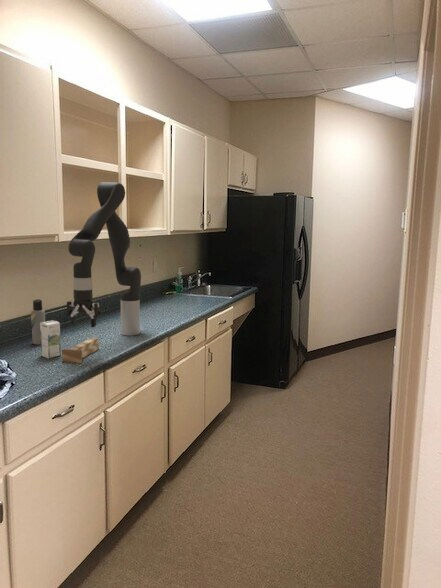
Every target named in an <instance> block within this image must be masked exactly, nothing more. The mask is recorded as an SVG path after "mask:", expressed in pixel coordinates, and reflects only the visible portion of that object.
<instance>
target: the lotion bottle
mask: <svg viewBox="0 0 441 588" xmlns="http://www.w3.org/2000/svg"><path fill="white" fill-rule="evenodd" d="M30 313H31V314H30V316H31V334H32V336H31V337H32V338H31V339H32V344H34V345H36V346H37V345H41V333H40V323H41V322H46V311H45V309H43V300H42V299H38V298H37V299H35V300H32V310H31V312H30Z"/></svg>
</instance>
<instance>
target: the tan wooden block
mask: <svg viewBox="0 0 441 588" xmlns="http://www.w3.org/2000/svg"><path fill="white" fill-rule="evenodd" d="M98 350H99V337H90V338H88V339H86V340H84V341H83V342H80V343H78V344H75V346H73V347H71V348H62V349H61V361H62V362H66V363H74V362H76V364H81V363H83V358H85V357H87V356H89V355H91V354H92V353H94V352H96V351H98Z"/></svg>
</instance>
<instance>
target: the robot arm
mask: <svg viewBox="0 0 441 588" xmlns="http://www.w3.org/2000/svg"><path fill="white" fill-rule="evenodd" d="M96 195H97V199H98V203H99V206H100V208H98V209H97V210H95V211H94V212H93V213H92V214H91V215H89V217H88V218H87V220H86V221H85V223H84V225H83V227H82V229H81V230H79V231H78V232H77V233H76V234H75V235H74V236H73V237H72V239H71V240H70V242H69V243H68V252H69V254H70V255H71V256H73V257H81V260H80V262H76V263H74V264H73V281H72V282H73V283H72V284H73V285H72V289H73V300H68V301H66V315H67V316H70V317H71V325H72V327H76V326H77V324H78V323H77V321H78V320H77V319H78V317H77V314H79V313H84V314H85V313H86V314H87V315H89V317H90V328H95V327H96V326H97V319H98V318H100V317H101V315H102V314H101V304H100V302H93V297H94V296H93V279H92V267H93V261H94V257H95V254H96V246H95V243H94V242H93V241H96V240H97V239H98V237H99V236H100V234H101V232H102V230H103V228H104V227H105V225H106V230H107V235H108V239H109V243H110V247H111V253H112V256H113V257H112V258H113V261H114V270H115V277H116V281H117V284H118V285H120V286H125V287H126V286H127V287H129V290H128V291H125V292H123V293H120V334H121V335H122V336H137V335H140V334H141V329H140V328H141V319H140V318H141V316H140V315H141V313H140V312H141V311H140V309H141V308H140V305H141V304H140V302H141V299H140V296H141V285H142V284H141V282H142V272H141V270H140V268H138V267H132V266H126V264H125V257H126V254H127V251H128V250H129V247H130V245H131V238H130V234H129V229H128V227H127V225H126V224H125V222H124V221H123V220H122V218H120V216H119V215H118V214H117V212H116V210H117V209H118V208H119V207H120V206H121V205H122V203H123V201H124V199H125V197H126V190H125V186H124V185H123V184H122V183H120V182H112V181H111V182H108V181H107V182H106V181H105V182H104V181H103V182H102V181H101V182H100V183H99V184H98V185H97V189H96ZM73 306H74V307H75V308H74V309H73Z"/></svg>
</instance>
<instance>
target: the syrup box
mask: <svg viewBox="0 0 441 588" xmlns="http://www.w3.org/2000/svg"><path fill="white" fill-rule="evenodd" d="M40 333H41V344H40V356H42V357H43V358H46V359H53V358H57V357H60V356H61V357H62V349H61V323H60V322H59V321H57V320H47V321H45V322H41V323H40Z"/></svg>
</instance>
